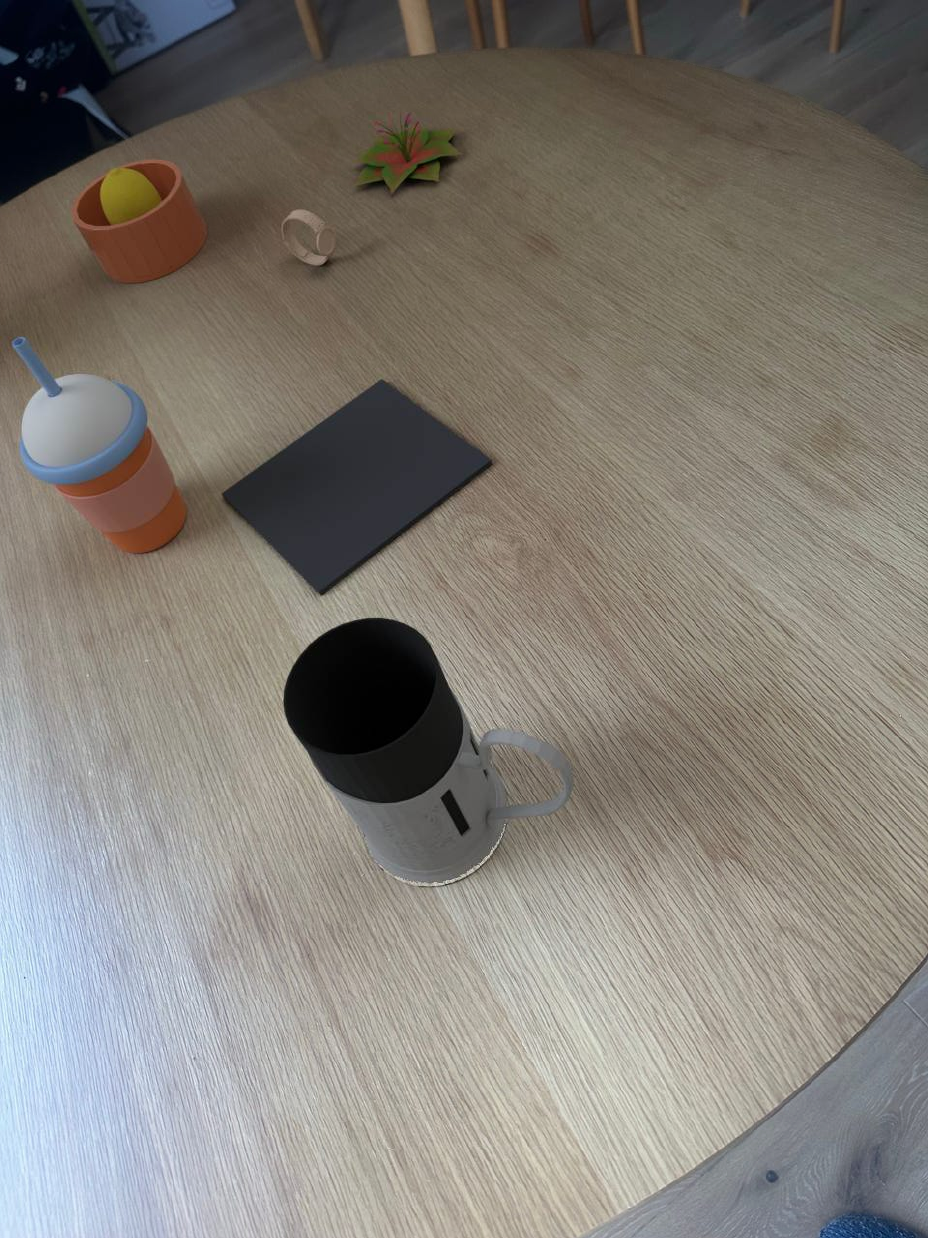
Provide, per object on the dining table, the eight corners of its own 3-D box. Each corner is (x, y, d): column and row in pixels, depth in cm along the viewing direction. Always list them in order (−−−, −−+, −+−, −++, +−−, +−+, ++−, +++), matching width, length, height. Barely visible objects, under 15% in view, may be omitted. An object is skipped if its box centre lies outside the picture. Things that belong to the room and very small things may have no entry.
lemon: (161, 261, 97) (122, 187, 90) (116, 259, 99) (74, 186, 92) (188, 226, 99) (151, 151, 93) (144, 225, 101) (105, 151, 95)
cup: (132, 298, 95) (101, 244, 90) (85, 256, 101) (53, 204, 96) (227, 237, 98) (201, 181, 93) (175, 200, 104) (148, 146, 99)
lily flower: (478, 124, 100) (469, 78, 96) (451, 195, 93) (440, 150, 90) (368, 133, 103) (355, 89, 100) (335, 202, 97) (320, 159, 93)
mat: (321, 596, 69) (318, 591, 68) (223, 497, 77) (221, 493, 76) (492, 464, 73) (491, 459, 72) (383, 382, 80) (381, 378, 80)
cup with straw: (201, 557, 73) (74, 373, 59) (87, 580, 75) (-64, 405, 60) (209, 469, 79) (95, 281, 64) (103, 492, 80) (-32, 312, 65)
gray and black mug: (399, 731, 61) (321, 591, 49) (619, 793, 56) (592, 652, 44) (338, 860, 57) (237, 742, 45) (569, 940, 52) (524, 830, 40)
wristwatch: (328, 273, 91) (310, 225, 87) (288, 265, 93) (268, 218, 89) (344, 255, 92) (327, 207, 88) (304, 248, 94) (285, 200, 90)
